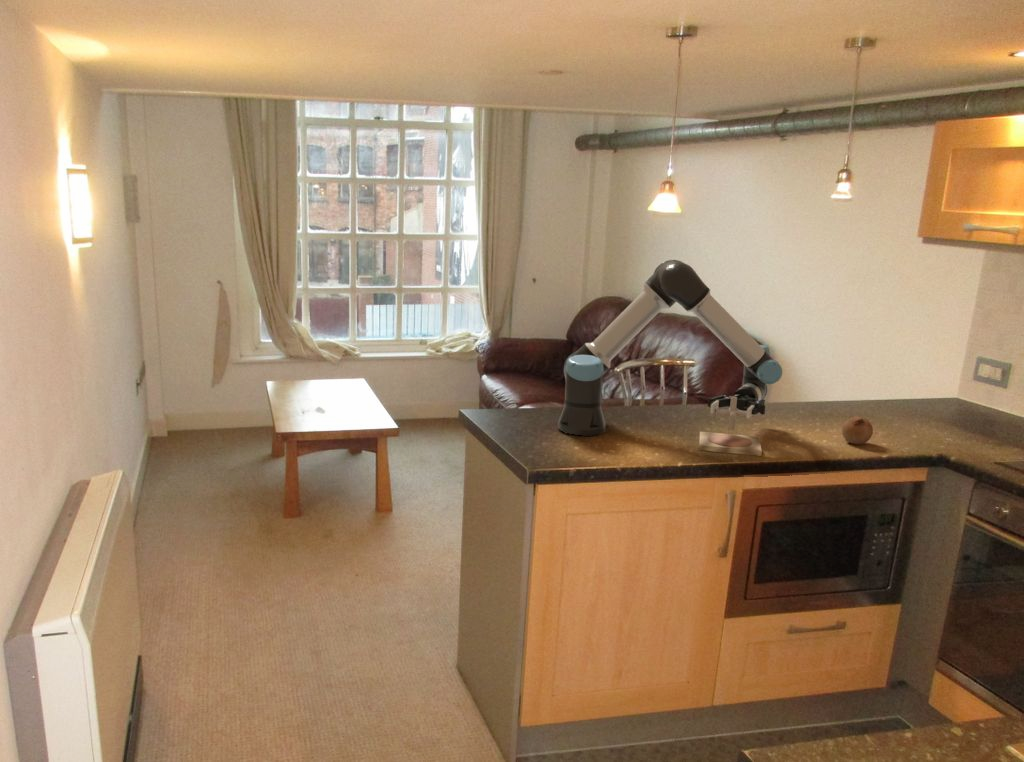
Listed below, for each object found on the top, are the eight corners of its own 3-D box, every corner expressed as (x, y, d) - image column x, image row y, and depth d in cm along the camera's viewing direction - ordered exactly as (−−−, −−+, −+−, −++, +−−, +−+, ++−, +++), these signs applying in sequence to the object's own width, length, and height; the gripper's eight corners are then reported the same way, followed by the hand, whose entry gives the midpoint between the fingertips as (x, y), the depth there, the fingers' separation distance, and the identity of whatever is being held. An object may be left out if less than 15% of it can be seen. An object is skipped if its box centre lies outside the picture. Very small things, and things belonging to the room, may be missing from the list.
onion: (858, 455, 254) (863, 432, 248) (833, 441, 260) (838, 418, 254) (876, 441, 257) (881, 418, 251) (851, 428, 263) (856, 405, 258)
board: (698, 449, 243) (699, 444, 243) (699, 436, 259) (700, 430, 258) (761, 456, 239) (761, 450, 239) (758, 441, 255) (759, 435, 254)
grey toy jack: (749, 434, 242) (752, 402, 240) (715, 432, 244) (717, 399, 242) (747, 426, 252) (749, 394, 250) (713, 423, 254) (716, 392, 252)
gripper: (781, 413, 258) (767, 429, 238) (711, 403, 268) (691, 418, 249) (784, 390, 256) (769, 404, 237) (712, 381, 266) (693, 394, 247)
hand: (729, 411), depth 243 cm, fingers closed on grey toy jack, 10 cm apart
